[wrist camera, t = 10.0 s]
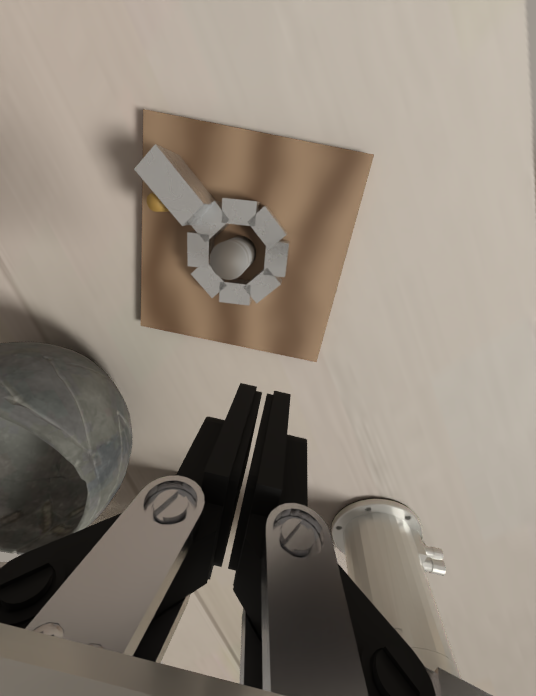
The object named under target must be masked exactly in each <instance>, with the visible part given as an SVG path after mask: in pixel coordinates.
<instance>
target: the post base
mask: <svg viewBox="0 0 536 696" xmlns="http://www.w3.org/2000/svg"><path fill="white" fill-rule="evenodd" d="M155 144H156V145H159V146H161V147H163V148H165V149H167V150H169V151H172V152H174V153H176V154H178V155H180V156H181V158H182V159H183V160H184V161H185V163H186V164H187V165H188V166H189V168H190V169H191V170H192V171H193V173H194V174H195V175H196V177H197V178H198V179H199V180H200V182H201V183H202V184H203V185H204V187H205V188H206V189H207V190H208V192H209V193H210V194H211V195H212V197H213V198H214V199H215V200H216V201H220V202H221V204H222V198H229V199H239V200H248V201H257V202H260V205H259V211H260V210H261V209H262V208H263V207H264V206H267V207H268V208H269V210H270V211H271V212H272V214H273V215H274V216H275V218H276V219H277V220H278V222H279V223H280V224H281V226H282V227H283V228H284V230H285V231H286V232H287V235H286V236H285V237H283V238H282V239H281V241H289V250H288V259H287V267H286V274H285V277H280V278H281V279H282V282H281V285H279V286H278V287H277V288H276V289H274V290H273V291H272V292H271V293H269V294H268V295H267V296H266V297H264V298H263V299H262V300H261V301H259V302H258V303H256V302H255V301H254V300H253V299H252V302H251V304H250V305H240V304H232V303H224V302H219V293H218V294H217V295H215V296H214V297H213V298H211V296H210V295H209V294H208V293H207V292H206V291H205V290H204V288H203V287H202V286H201V285H200V284H199V283H198V282H197V281H196V279H195V278H194V277H193V276H192V275H191V273H192V272H193V271H194V270H195V269H197V268H198V267H191V266H188V257H187V232H192V231H195V230H194V228H193V227H192V226H191V225H185V226H182V225H181V224H180V223H179V222H178V221H177V219H176V218H175V217H174V216H173V215H172V213H171V212H170V211H169V210H168V209H167V208H166V206H165V205H164V204H163V203H162V202H161V201H160V199H159V198H158V197H157V196H156V195H155V193H154V192H153V191H152V190H151V189H150V188H149V186H148V185H147V184H146V183H145V182H144V180H143V179H142V261H141V326H145V327H150V328H155V329H159V330H164V331H169V332H174V333H179V334H184V335H188V336H193V337H198V338H203V339H208V340H213V341H217V342H222V343H227V344H232V345H237V346H241V347H246V348H251V349H256V350H261V351H266V352H270V353H275V354H280V355H285V356H290V357H294V358H299V359H304V360H309V361H314V362H317V358H318V354H319V351H320V347H321V344H322V340H323V336H324V333H325V329H326V326H327V322H328V318H329V315H330V311H331V308H332V304H333V300H334V297H335V293H336V290H337V286H338V282H339V279H340V275H341V272H342V268H343V264H344V261H345V257H346V254H347V250H348V246H349V243H350V239H351V236H352V232H353V228H354V225H355V221H356V218H357V214H358V210H359V207H360V203H361V200H362V196H363V192H364V189H365V185H366V182H367V178H368V174H369V171H370V167H371V164H372V160H373V156H374V155H373V154H368V153H363V152H358V151H353V150H348V149H342V148H337V147H332V146H327V145H322V144H317V143H312V142H307V141H302V140H297V139H292V138H287V137H282V136H277V135H271V134H266V133H261V132H256V131H251V130H246V129H241V128H236V127H231V126H226V125H221V124H216V123H211V122H206V121H200V120H195V119H190V118H185V117H180V116H175V115H170V114H165V113H160V112H155V111H150V110H145V109H143V158H144V157H145V155H146V154H147V153H148V152H149V151H150V150H151V148H152V147H153V146H154V145H155ZM265 251H266V245H265V244H264V243H263V242H262V240H261V239H260V238H259V236H258V235H257V234H256V233H255V231H254V230H253V229H252V227H251V226H246V225H237V224H229V225H228V226H227V227H226V228H225V229H224V230H222V231H221V232H220V233H219V234H218V235H217V236H216V237H215V239H214V248H213V250H212V251H211V254H210V265H211V268H212V270H213V271H214V272H215V274H216V275H218V276H219V277H221V278H223V279H226V280H232V279H242V280H251V279H252V278H253V277H254V276H255V275H257V274H258V273H259V272H260V271H261V270H263V269H264V263H265Z"/></svg>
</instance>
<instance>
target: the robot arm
mask: <svg viewBox="0 0 536 696" xmlns="http://www.w3.org/2000/svg"><path fill="white" fill-rule="evenodd" d="M256 388H257V387H256V386H251V385H247V384H242V383H240V386H239V388H238V390H237V393H236V395H235V398H234V400H233V403H232V405H231V407H230V410H229V412H228V415H227V417H226V419H225V420H221V419H217V418H212V417H206V419H205V421H204V422H203V424H202V426H201V428H200V430H199V432H198V434H197V436H196V438H195V440H194V442H193V444H192V446H191V448H190V449H189V451H188V453H187V455H186V457H185V459H184V461H183V463H182V465H181V467H180V469H179V471H178V473H177V475H176V476H165V477H161V478H158V479H156V480H154V481H152V482H150V483H149V484H148V485H147V486H146V487H144V488H143V489H142V490H141V491H140V493H139V494H138V495H137V496H136V497H135V499H134V500H133V501H132V502H131V503H130V505H129V506H128V507H127V508H126V509H125V511H124V512H123V513H121V514H118V515H116V516H114V517H111V518H109V519H106V520H104V521H101V522H99V523H97V524H94V525H92V526H89V527H87V528H84V529H82V530H80V531H77V532H75V533H72V534H70V535H68V536H65V537H63V538H60V539H58V540H55V541H53V542H51V543H48V544H46V545H43V546H41V547H38V548H36V549H34V550H31V551H29V552H26V553H24V554H22V555H20V556H18V557H16V558H14V559H13V560H11V561H9V562H0V696H492V695H490V694H488V693H486V692H484V691H483V690H481V689H479V688H477V687H475V686H473V685H471V684H469V683H467V682H466V681H464V680H462V678H461V675H460V672H459V669H458V667H457V664H456V661H455V658H454V655H453V652H452V649H451V646H450V643H449V640H448V638H447V635H446V632H445V629H444V626H443V623H442V620H441V617H440V614H439V611H438V608H437V605H436V602H435V600H434V597H433V594H432V591H431V588H430V585H429V582H428V579H427V576H426V573H425V571H426V572H429V573H433V574H437V575H442V576H444V575H445V572H446V567H445V563H444V562H443V551H442V550H441V549H439V548H435V547H428V546H426V545H425V544H424V543H422V538H423V530H422V526H421V524H420V521H419V519H418V517H417V516H416V514H415V513H414V512H413V511H412V510H410V509H409V508H408V507H406V506H404V505H403V504H400V503H397V502H395V501H390V500H386V499H367V500H362V501H358V502H355V503H352V504H350V505H348V506H347V507H345V508H343V509H342V510H341V511H340V512H339V513H338V514H337V515H336V516H335V518H334V520H333V522H332V528H331V529H332V537H331V534H330V531H329V529H328V526H327V524H326V523H325V522H324V520H323V519H322V517H321V516H320V515H318V514H317V513H316V512H315V511H314V510H312V509H310V508H308V504H307V440H306V439H304V438H299V437H295V436H291V435H287V429H288V417H289V406H290V394H287V393H282V392H278V391H274V394H273V395H271V394H267V396H266V401H265V405H264V410H263V414H262V418H261V423H260V427H259V431H258V436H257V440H256V445H255V449H254V453H253V458H252V462H251V466H250V471H249V475H248V480H247V484H246V489H245V493H244V498H243V502H242V507H241V512H240V516H239V521H238V525H237V530H236V535H235V539H234V544H233V548H232V553H231V557H230V562H229V567H228V569H232V570H236V574H235V579H234V584H233V585H234V588H233V591H234V592H235V594H236V596H237V597H238V599H239V601H240V603H241V604H242V606H243V614H242V632H241V660H240V684H238V683H234V682H230V681H226V680H223V679H219V678H215V677H211V676H207V675H203V674H199V673H196V672H192V671H188V670H184V669H180V668H176V667H172V666H168V665H164V664H161V660H162V658H163V656H164V654H165V652H166V649H167V647H168V645H169V643H170V641H171V639H172V636H173V634H174V632H175V630H176V628H177V625H178V623H179V621H180V619H181V617H182V614H183V612H184V610H185V608H186V606H187V604H188V600H189V597H190V594H191V593H192V592H194V591H196V590H197V589H199V588H200V587H202V586H203V585H205V584H206V583H207V580H208V579H210V577H211V573H212V569H213V566H214V565H216V566H220V567H221V566H222V563H223V559H224V555H225V551H226V547H227V543H228V538H229V534H230V530H231V526H232V522H233V518H234V514H235V510H236V506H237V502H238V498H239V494H240V490H241V486H242V482H243V478H244V474H245V469H246V465H247V461H248V457H249V452H250V447H251V442H252V438H253V433H254V428H255V423H256V419H257V414H258V409H259V405H260V400H261V395H262V392H258V391H256ZM332 538H333V542H334V543H335V545H336V547H337V548H338V549H339V550H340V551H341V552H342V553H343V554H345V556H346V563H347V571H348V575H347V574H346V572H345V571H344V570H343V569H342V568H341V567H340V566H339V564H338V563H337V559H336V554H335V550H334V546H333V542H332Z"/></svg>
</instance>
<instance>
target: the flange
mask: <svg viewBox="0 0 536 696" xmlns="http://www.w3.org/2000/svg"><path fill="white" fill-rule="evenodd" d="M134 170H135V171H136V172H137V173H138V175H139V176H140V177H141V178H142V179H143V180H144V182H145V183H146V184H147V185H148V186H149V188H150V189H151V190H152V191H153V192H154V193H155V195H156V196H157V197H158V198H159V199H160V201H161V202H162V203H163V204H164V205H165V206H166V208H167V209H168V210H169V211H170V212H171V213H172V215H173V216H174V217H175V218H176V219H177V221H178V222H179V223H180V224H181V225H182V226H185V225H191V226H192V227H193V228H194V230H195V231H192V232H187V257H188V266H191V267H198V268H197V269H195V270H194V271H193V272H192V273H191V275H192V276H193V277H194V278H195V279H196V281H197V282H198V283H199V284H200V285H201V286H202V287H203V288H204V290H205V291H206V292H207V293H208V294H209V295H210V296H211V298H213V297H214V296H215V295H217V294H218V293H219V302H224V303H232V304H240V305H250V304H251V302H252V299H253V300H254V301H255V302H256V303H258V302H259V301H261V300H262V299H263V298H264V297H266V296H267V295H268V294H269V293H271V292H272V291H273V290H274V289H276V288H277V287H278V286H279V285H281V282H282V279H281V278H280V277H285V274H286V267H287V259H288V250H289V241H281V239H282V238H283V237H285V236H286V235H287V232H286V231H285V230H284V228H283V227H282V226H281V224H280V223H279V222H278V220H277V219H276V218H275V216H274V215H273V214H272V212H271V211H270V210H269V208H268V207H267V206H264V207H263V208H262V209H261V210H260V211H259V205H260V202H257V201H248V200H239V199H229V198H222V204H221V202H220V201H216V200H215V199H214V198H213V197H212V195H211V194H210V193H209V192H208V190H207V189H206V188H205V187H204V185H203V184H202V183H201V182H200V180H199V179H198V178H197V177H196V175H195V174H194V173H193V171H192V170H191V169H190V168H189V166H188V165H187V164H186V163H185V161H184V160H183V159H182V158H181V156H180V155H178V154H176V153H174V152H172V151H169V150H167V149H165V148H163V147H161V146H159V145H156V144H155V145H154V146H153V147H152V148H151V150H150V151H149V152H148V153H147V154H146V155H145V157H144V158H143V159H142V160H141V161H140V163H139V164H138V165H137V166H136V167H135V168H134ZM229 224H237V225H246V226H251V227H252V229H253V230H254V231H255V233H256V234H257V235H258V236H259V238H260V239H261V240H262V242H263V243H264V244H265V245H266V251H265V263H264V269H263V270H261V271H260V272H259V273H258V274H257V275H255V276H254V277H253V278H252V279H251V280H242V279H232V280H226V279H223V278H221V277H219V276H218V275H216V274H215V272H214V271H213V270H212V268H211V265H210V254H211V251H212V250H213V248H214V239H215V237H216V236H217V235H218V234H219V233H220V232H221V231H222V230H224V229H225V228H226V227H227V226H228V225H229Z"/></svg>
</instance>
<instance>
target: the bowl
mask: <svg viewBox="0 0 536 696" xmlns="http://www.w3.org/2000/svg"><path fill="white" fill-rule="evenodd" d="M131 449H132V428H131V421H130V414H129V411H128V408H127V406H126V403H125V401H124V399H123V397H122V395H121V394H120V392H119V390H118V389H117V387H116V385H115V384H114V383H113V381H112V380H111V379H110V378H109V377H108V375H107V374H106V373H105V372H104V371H103V370H102V369H101V368H100V367H98V366H97V365H96V364H95V363H94V362H92V361H91V360H90V359H88V358H87V357H85V356H83V355H81V354H79V353H77V352H75V351H73V350H70V349H67V348H64V347H60V346H57V345H52V344H46V343H38V342H12V343H1V344H0V551H1V552H8V553H17V554H24V553H26V552H29V551H31V550H34V549H36V548H38V547H41V546H43V545H46V544H48V543H51V542H53V541H55V540H58V539H60V538H63V537H65V536H68V535H70V534H72V533H75V532H77V531H80V530H82V529H84V528H87V527H88V526H89V525H90V524H91V523H92V522H93V521H94V520H95V519H96V518H97V517H98V516H99V515H100V514H101V513H102V512H103V510H104V509H105V508H106V507H107V505H108V504H109V503H110V501H111V500H112V498H113V497H114V495H115V494H116V492H117V491H118V489H119V488H120V485H121V483H122V481H123V479H124V477H125V474H126V469H127V466H128V463H129V458H130V454H131Z"/></svg>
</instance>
